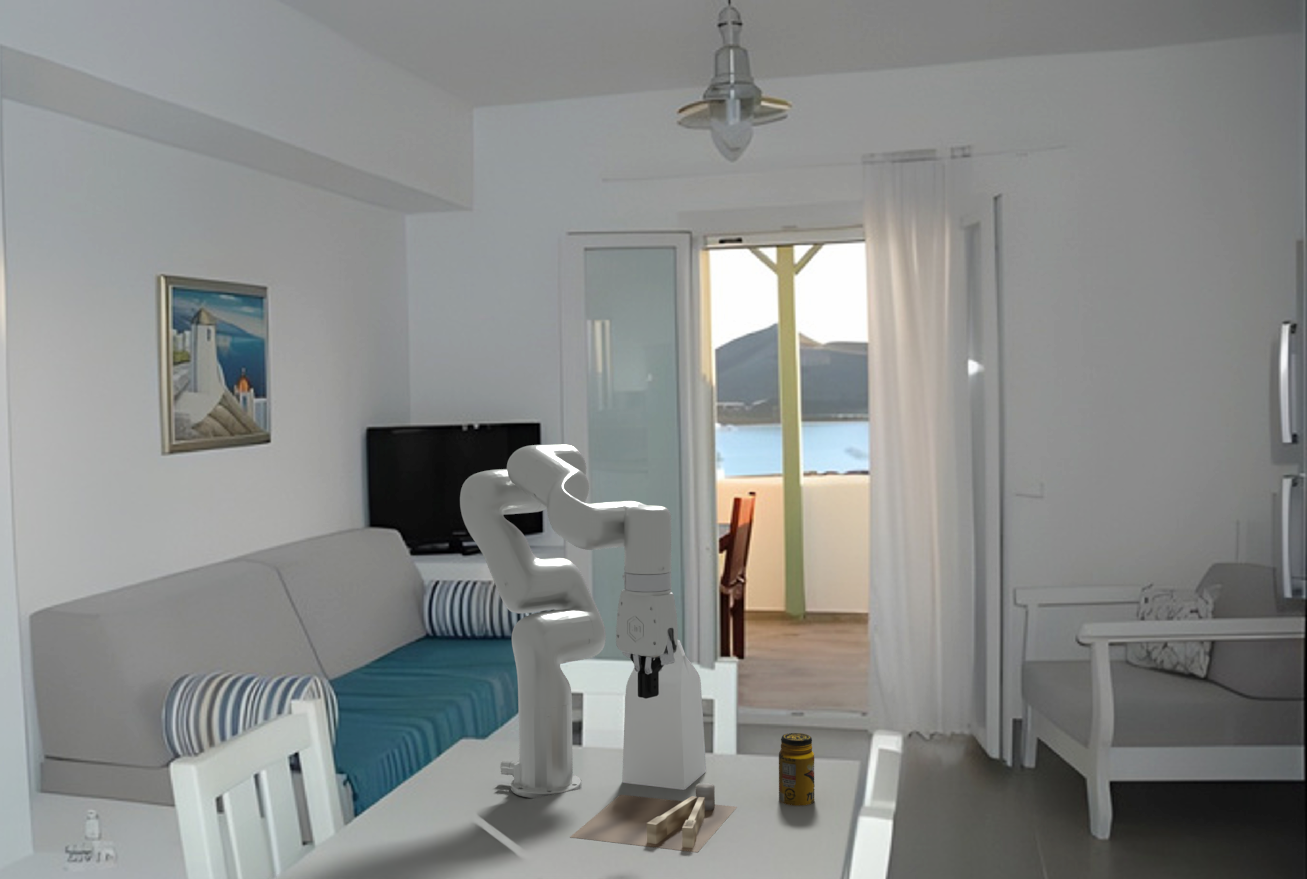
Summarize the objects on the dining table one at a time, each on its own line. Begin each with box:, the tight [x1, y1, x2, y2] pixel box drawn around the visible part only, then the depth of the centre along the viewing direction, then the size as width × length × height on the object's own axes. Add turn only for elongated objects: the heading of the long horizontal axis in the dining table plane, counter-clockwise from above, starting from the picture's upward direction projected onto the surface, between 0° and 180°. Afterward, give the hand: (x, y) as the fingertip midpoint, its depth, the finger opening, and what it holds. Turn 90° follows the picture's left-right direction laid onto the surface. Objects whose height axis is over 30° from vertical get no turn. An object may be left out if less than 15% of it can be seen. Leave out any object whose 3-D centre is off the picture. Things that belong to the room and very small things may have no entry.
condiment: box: [778, 732, 815, 807], centre depth 211 cm, size 7×8×12 cm
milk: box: [621, 639, 707, 791], centre depth 224 cm, size 12×12×26 cm
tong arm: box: [647, 795, 697, 844], centre depth 198 cm, size 15×2×3 cm, turn 151°
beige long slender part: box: [682, 782, 716, 848], centre depth 199 cm, size 20×3×4 cm, turn 169°
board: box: [569, 794, 738, 854], centre depth 201 cm, size 21×22×1 cm
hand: (648, 696), depth 199 cm, fingers closed
